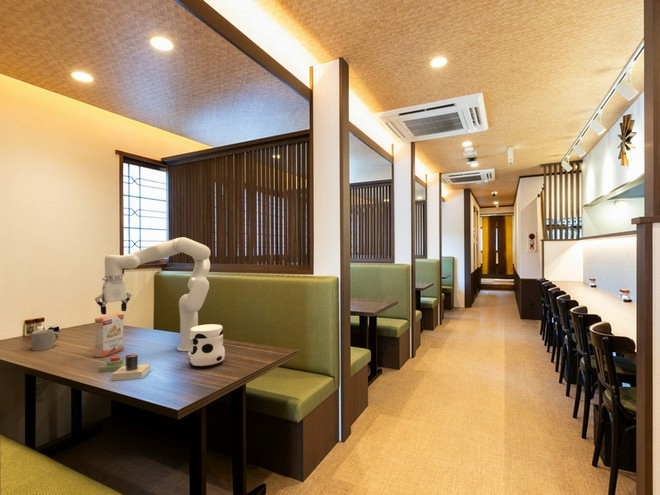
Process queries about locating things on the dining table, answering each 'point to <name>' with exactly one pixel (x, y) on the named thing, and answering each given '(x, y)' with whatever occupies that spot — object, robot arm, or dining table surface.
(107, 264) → the robot arm
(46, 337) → the coffee mug
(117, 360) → the button
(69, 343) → the dining table surface
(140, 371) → the panel
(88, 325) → the dining table surface
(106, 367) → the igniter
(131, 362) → the knob
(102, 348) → the cracker box
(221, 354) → the milk container
